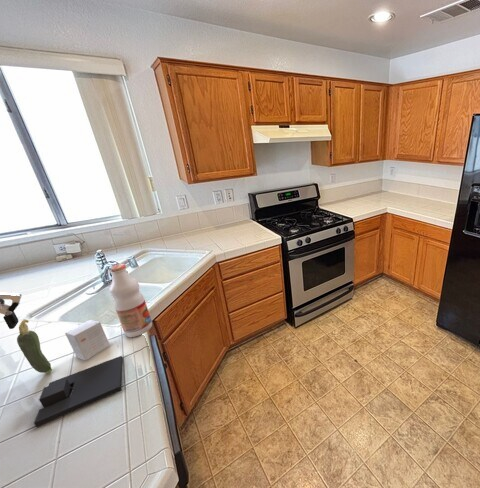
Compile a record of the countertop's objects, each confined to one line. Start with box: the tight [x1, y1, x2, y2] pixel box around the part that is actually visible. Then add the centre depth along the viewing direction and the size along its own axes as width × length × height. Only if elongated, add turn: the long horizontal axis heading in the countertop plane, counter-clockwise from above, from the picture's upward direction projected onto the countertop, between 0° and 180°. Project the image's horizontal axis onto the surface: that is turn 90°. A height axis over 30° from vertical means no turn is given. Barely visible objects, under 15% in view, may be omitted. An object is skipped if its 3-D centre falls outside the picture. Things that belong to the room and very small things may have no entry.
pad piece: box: [38, 379, 73, 408], centre depth 75 cm, size 5×5×4 cm
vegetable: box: [16, 319, 53, 374], centre depth 82 cm, size 4×4×20 cm
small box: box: [64, 319, 111, 361], centre depth 93 cm, size 8×6×10 cm
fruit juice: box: [108, 263, 153, 338], centre depth 100 cm, size 9×9×28 cm
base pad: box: [33, 355, 124, 428], centre depth 79 cm, size 18×16×2 cm
